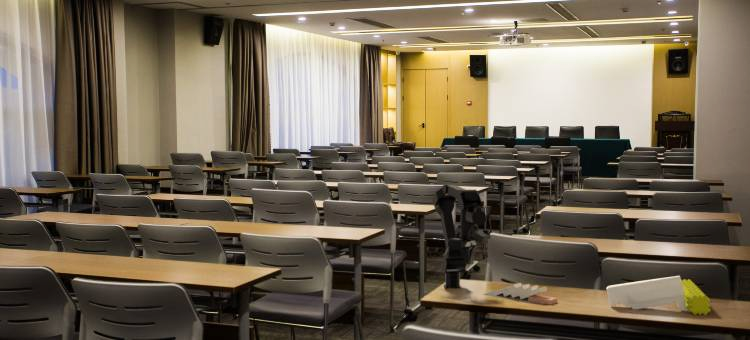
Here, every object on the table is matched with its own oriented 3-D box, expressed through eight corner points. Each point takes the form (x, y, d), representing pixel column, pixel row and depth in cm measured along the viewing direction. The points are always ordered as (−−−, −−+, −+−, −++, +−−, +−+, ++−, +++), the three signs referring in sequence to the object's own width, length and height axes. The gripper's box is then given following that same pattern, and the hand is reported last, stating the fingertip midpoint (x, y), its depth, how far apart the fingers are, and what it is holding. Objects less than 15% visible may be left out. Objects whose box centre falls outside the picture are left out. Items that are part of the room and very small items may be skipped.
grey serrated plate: (482, 295, 289) (482, 294, 289) (495, 292, 296) (495, 290, 296) (538, 305, 273) (538, 303, 273) (551, 301, 279) (551, 300, 279)
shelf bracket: (688, 313, 263) (681, 277, 263) (613, 323, 268) (606, 288, 268) (685, 309, 268) (678, 274, 268) (612, 319, 274) (605, 285, 274)
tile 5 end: (528, 296, 278) (550, 300, 272) (535, 294, 282) (557, 298, 275) (528, 300, 278) (550, 304, 272) (535, 298, 282) (557, 302, 276)
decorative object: (694, 296, 290) (694, 278, 290) (712, 317, 258) (712, 296, 258) (673, 295, 292) (674, 277, 292) (689, 316, 260) (689, 295, 259)
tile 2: (502, 292, 285) (521, 285, 280) (510, 290, 289) (529, 283, 283) (504, 296, 285) (523, 289, 279) (511, 294, 288) (530, 287, 283)
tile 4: (519, 295, 280) (539, 288, 275) (526, 293, 284) (546, 286, 278) (520, 299, 280) (540, 292, 274) (527, 297, 284) (547, 290, 278)
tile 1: (494, 291, 288) (513, 284, 282) (502, 289, 291) (520, 282, 286) (496, 295, 287) (515, 288, 282) (503, 293, 291) (522, 286, 285)
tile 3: (510, 294, 283) (530, 287, 277) (518, 292, 287) (537, 285, 281) (512, 298, 282) (531, 290, 277) (519, 296, 286) (538, 289, 280)
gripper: (471, 226, 277) (470, 269, 277) (499, 222, 290) (499, 263, 291) (446, 223, 284) (446, 265, 285) (475, 220, 298) (475, 259, 299)
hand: (467, 263), depth 290 cm, fingers closed
